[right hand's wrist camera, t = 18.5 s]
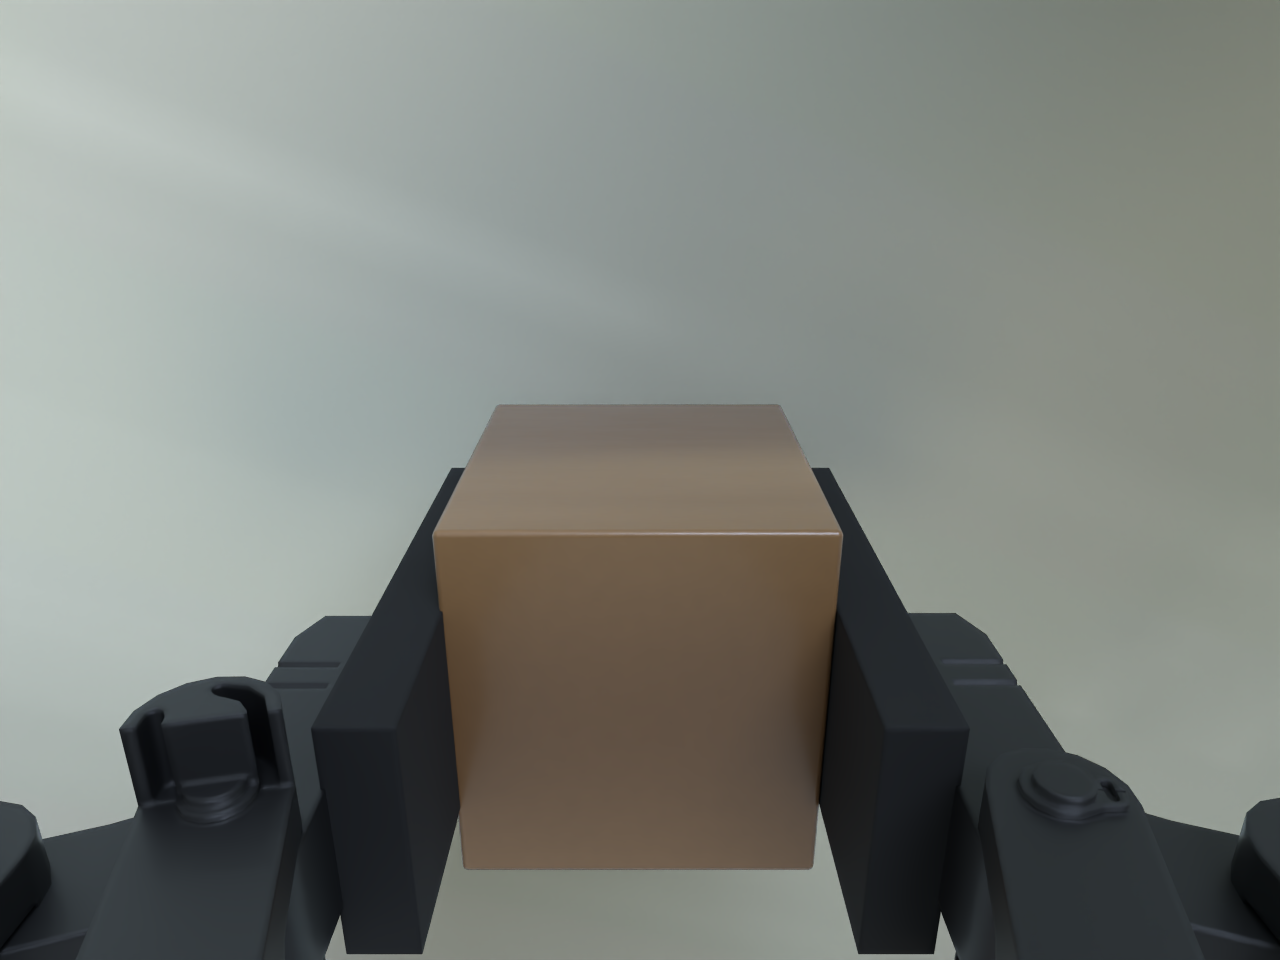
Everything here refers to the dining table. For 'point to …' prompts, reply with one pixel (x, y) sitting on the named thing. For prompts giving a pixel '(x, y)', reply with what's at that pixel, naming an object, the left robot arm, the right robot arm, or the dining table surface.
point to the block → (638, 639)
